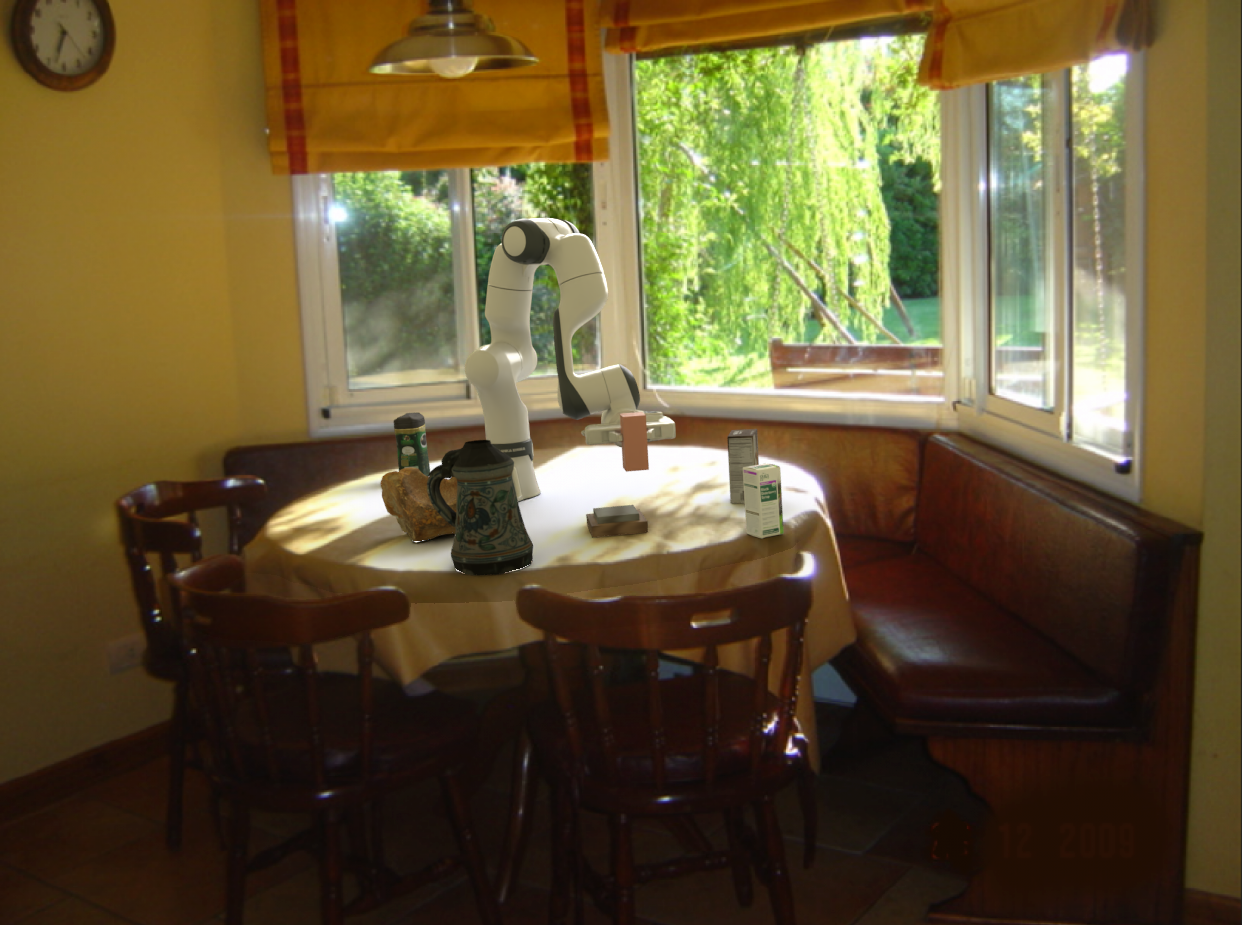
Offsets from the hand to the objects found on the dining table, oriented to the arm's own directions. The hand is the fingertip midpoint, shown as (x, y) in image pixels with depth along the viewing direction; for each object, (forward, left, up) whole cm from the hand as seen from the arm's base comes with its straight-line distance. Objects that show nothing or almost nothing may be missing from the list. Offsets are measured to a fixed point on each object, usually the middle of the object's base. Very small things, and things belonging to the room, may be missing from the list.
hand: (634, 437), depth 259 cm
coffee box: (+28, +17, -20) cm, 38 cm away
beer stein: (-34, -21, -20) cm, 45 cm away
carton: (0, +1, -7) cm, 7 cm away
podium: (-5, -1, -20) cm, 20 cm away
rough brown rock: (-45, +8, -20) cm, 50 cm away
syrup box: (+24, -17, -20) cm, 35 cm away
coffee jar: (-52, +79, -20) cm, 97 cm away
